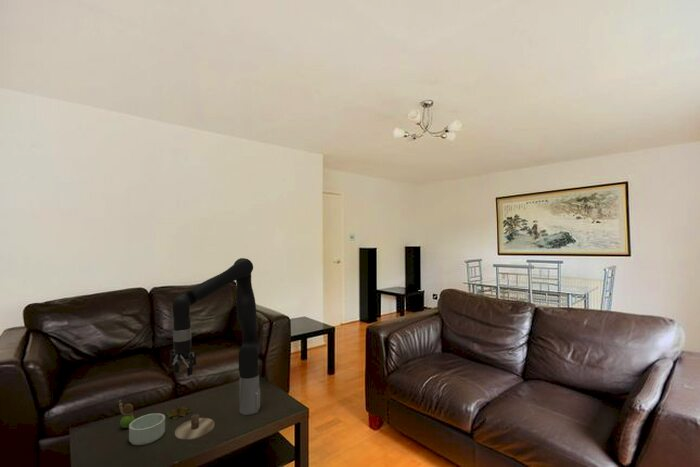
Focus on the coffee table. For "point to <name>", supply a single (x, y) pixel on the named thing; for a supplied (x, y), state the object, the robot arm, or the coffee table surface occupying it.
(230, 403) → the coffee table surface
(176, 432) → the lid
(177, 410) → the lily flower
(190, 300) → the robot arm
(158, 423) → the bowl
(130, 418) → the snail figurine
